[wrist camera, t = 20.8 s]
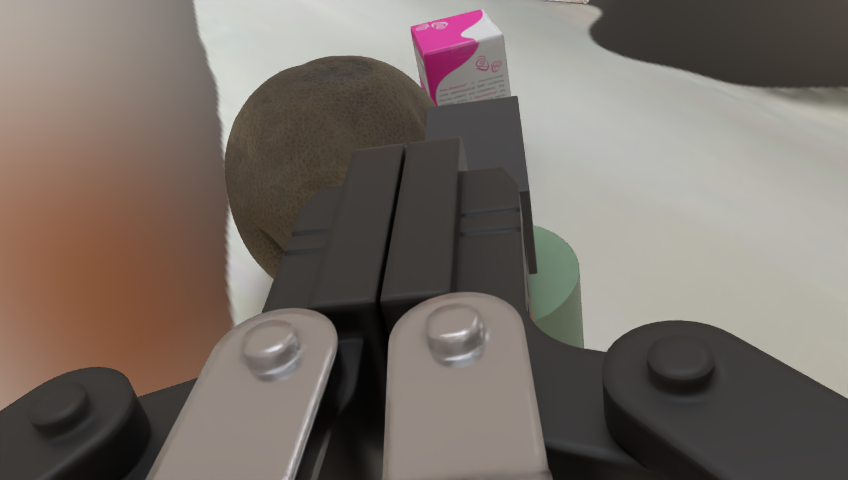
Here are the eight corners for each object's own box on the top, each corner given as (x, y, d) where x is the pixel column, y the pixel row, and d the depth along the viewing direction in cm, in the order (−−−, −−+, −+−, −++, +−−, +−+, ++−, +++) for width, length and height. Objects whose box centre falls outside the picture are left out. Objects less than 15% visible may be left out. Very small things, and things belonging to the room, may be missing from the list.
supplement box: (502, 141, 65) (485, 5, 58) (522, 177, 60) (506, 34, 54) (433, 157, 65) (408, 23, 58) (447, 195, 60) (422, 54, 53)
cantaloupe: (511, 293, 50) (482, 76, 41) (299, 384, 47) (219, 168, 38) (422, 192, 61) (384, 2, 52) (245, 260, 58) (173, 70, 49)
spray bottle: (607, 584, 34) (588, 199, 22) (459, 592, 35) (365, 224, 23) (584, 435, 41) (559, 74, 29) (459, 445, 42) (385, 97, 30)
